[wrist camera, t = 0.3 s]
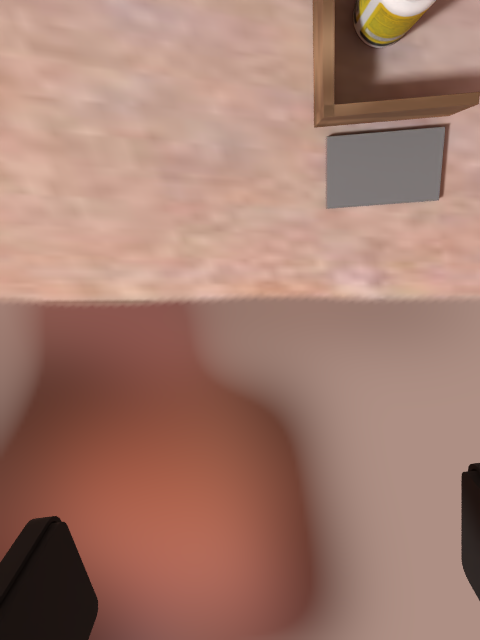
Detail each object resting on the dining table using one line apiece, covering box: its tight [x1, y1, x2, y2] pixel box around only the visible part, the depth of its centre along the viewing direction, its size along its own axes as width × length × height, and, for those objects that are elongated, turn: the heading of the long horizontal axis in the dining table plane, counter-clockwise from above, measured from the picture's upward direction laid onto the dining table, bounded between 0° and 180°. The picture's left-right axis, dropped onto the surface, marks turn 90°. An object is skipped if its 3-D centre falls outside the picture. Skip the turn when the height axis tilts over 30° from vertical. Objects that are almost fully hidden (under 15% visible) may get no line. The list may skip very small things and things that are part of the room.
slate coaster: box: [326, 127, 445, 209], centre depth 34 cm, size 6×10×1 cm, turn 94°
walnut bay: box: [313, 0, 480, 127], centre depth 28 cm, size 16×12×4 cm
